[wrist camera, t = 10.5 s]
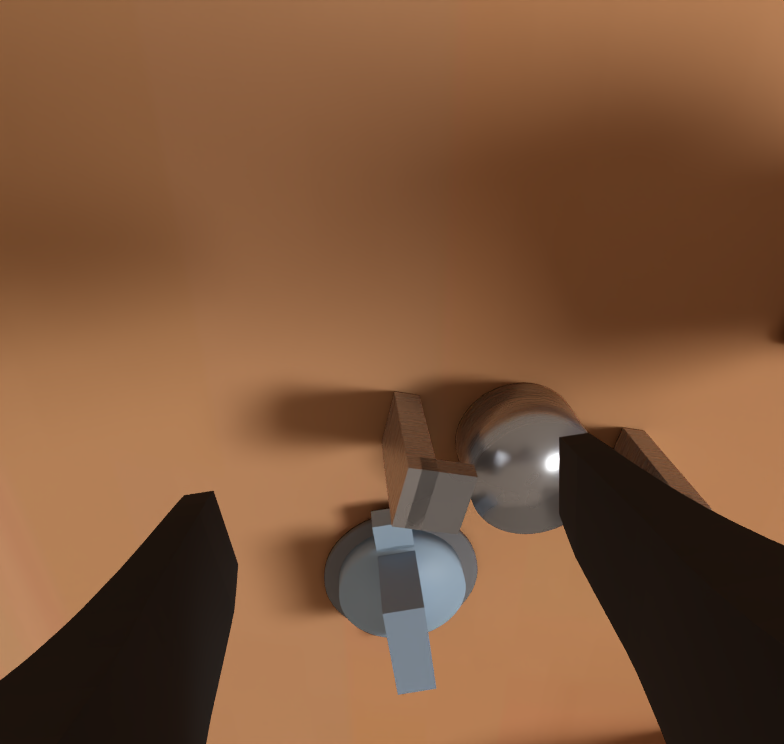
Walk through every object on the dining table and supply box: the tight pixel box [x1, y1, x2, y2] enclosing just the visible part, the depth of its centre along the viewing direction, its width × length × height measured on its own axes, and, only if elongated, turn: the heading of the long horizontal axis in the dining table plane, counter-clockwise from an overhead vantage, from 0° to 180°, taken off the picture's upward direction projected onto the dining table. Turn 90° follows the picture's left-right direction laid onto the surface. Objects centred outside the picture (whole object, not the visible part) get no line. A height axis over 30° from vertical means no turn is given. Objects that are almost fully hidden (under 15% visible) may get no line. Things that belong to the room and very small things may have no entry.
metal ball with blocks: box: [382, 383, 711, 534], centre depth 22 cm, size 11×5×5 cm, turn 77°
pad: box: [324, 519, 477, 618], centre depth 27 cm, size 7×7×1 cm
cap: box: [339, 509, 466, 695], centre depth 25 cm, size 8×6×4 cm
